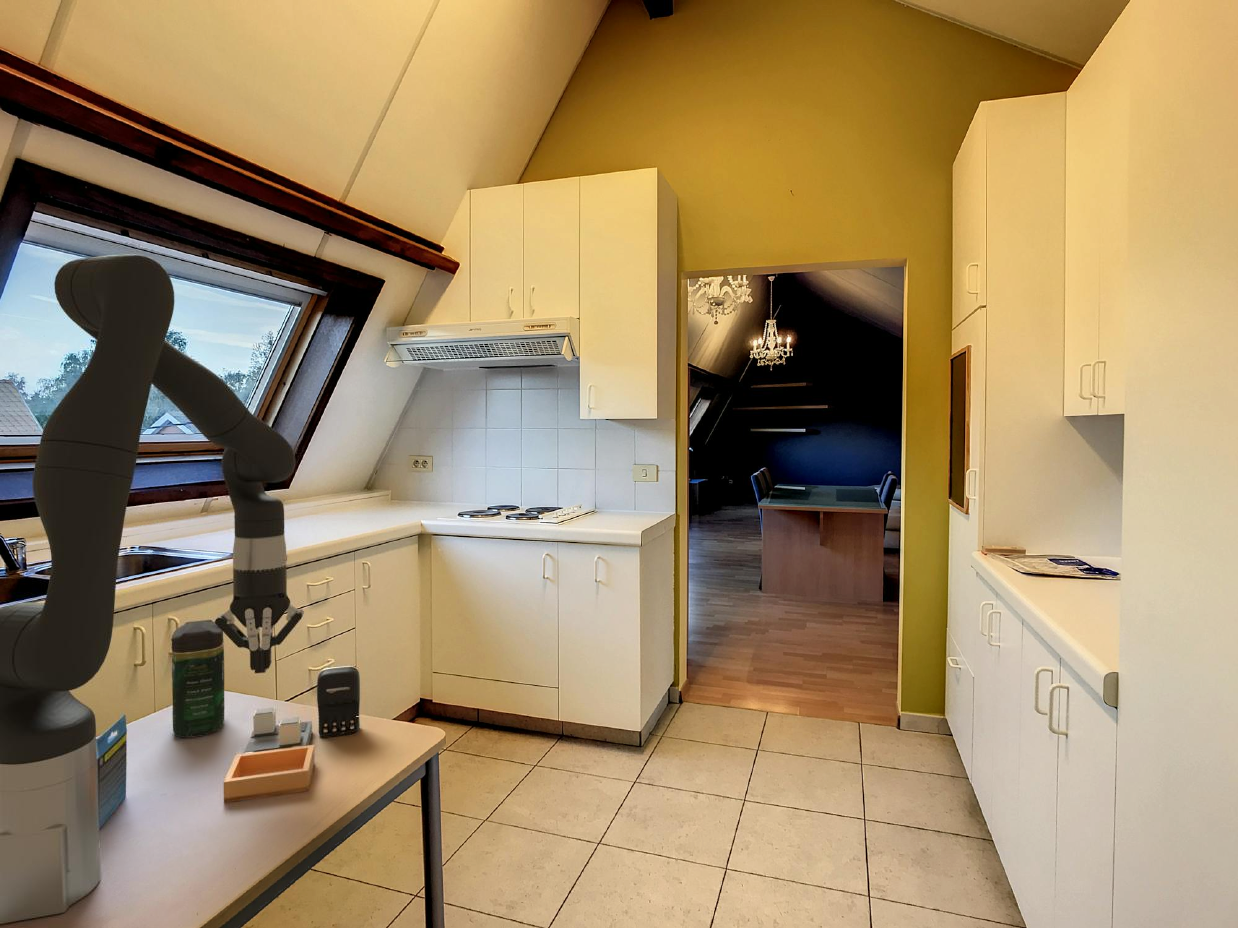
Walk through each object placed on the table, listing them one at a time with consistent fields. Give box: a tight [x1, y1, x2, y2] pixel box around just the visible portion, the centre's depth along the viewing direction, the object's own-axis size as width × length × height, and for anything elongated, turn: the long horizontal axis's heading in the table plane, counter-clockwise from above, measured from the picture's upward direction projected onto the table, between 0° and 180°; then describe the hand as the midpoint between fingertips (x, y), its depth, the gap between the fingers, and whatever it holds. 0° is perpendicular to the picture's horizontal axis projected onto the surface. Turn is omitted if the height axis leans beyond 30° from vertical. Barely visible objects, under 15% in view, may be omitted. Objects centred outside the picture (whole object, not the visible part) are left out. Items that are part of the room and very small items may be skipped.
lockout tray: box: [222, 744, 315, 804], centre depth 103 cm, size 9×11×3 cm
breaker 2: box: [278, 716, 302, 745], centre depth 112 cm, size 2×3×3 cm
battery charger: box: [316, 665, 361, 738], centre depth 120 cm, size 7×4×11 cm, turn 109°
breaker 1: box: [252, 706, 277, 735], centre depth 116 cm, size 2×3×3 cm
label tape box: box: [96, 713, 128, 830], centre depth 94 cm, size 9×4×12 cm, turn 15°
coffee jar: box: [170, 619, 226, 738], centre depth 121 cm, size 10×8×19 cm
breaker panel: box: [242, 720, 313, 754], centre depth 113 cm, size 12×9×2 cm
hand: (261, 671), depth 110 cm, fingers closed
